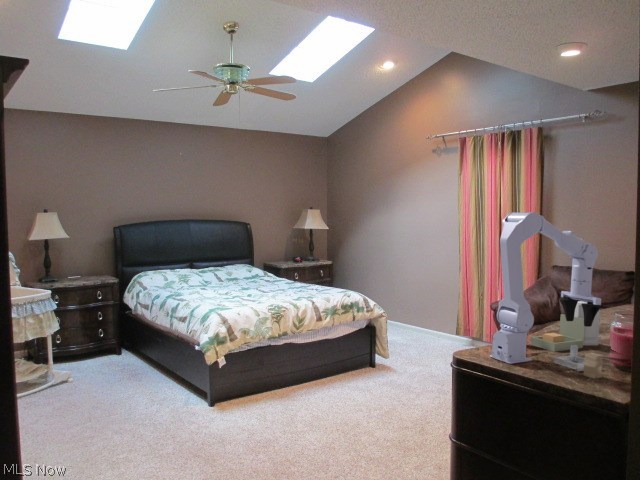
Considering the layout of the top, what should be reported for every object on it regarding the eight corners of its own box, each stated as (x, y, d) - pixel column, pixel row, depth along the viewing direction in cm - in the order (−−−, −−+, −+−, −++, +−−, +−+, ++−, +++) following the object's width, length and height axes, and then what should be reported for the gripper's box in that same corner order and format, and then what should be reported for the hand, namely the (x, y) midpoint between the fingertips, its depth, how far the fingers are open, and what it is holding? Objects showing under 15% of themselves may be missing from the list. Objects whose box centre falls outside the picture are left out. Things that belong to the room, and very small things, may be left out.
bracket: (577, 371, 138) (578, 353, 138) (553, 363, 145) (554, 347, 145) (596, 368, 142) (597, 351, 142) (572, 361, 149) (573, 344, 148)
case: (554, 352, 158) (555, 321, 157) (530, 345, 166) (532, 316, 165) (583, 349, 164) (585, 319, 164) (560, 342, 172) (561, 314, 172)
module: (552, 348, 161) (553, 336, 161) (542, 345, 165) (542, 333, 164) (562, 347, 163) (563, 335, 163) (552, 344, 167) (553, 332, 167)
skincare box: (587, 342, 174) (589, 300, 174) (599, 346, 168) (601, 303, 168) (565, 342, 173) (567, 300, 172) (576, 346, 167) (579, 303, 166)
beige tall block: (593, 378, 132) (595, 356, 132) (583, 375, 135) (584, 353, 135) (600, 377, 134) (602, 355, 133) (590, 374, 136) (591, 352, 136)
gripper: (610, 284, 149) (607, 328, 150) (574, 278, 163) (572, 318, 164) (591, 283, 148) (588, 328, 148) (556, 277, 162) (554, 318, 162)
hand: (578, 323), depth 156 cm, fingers open, 7 cm apart
